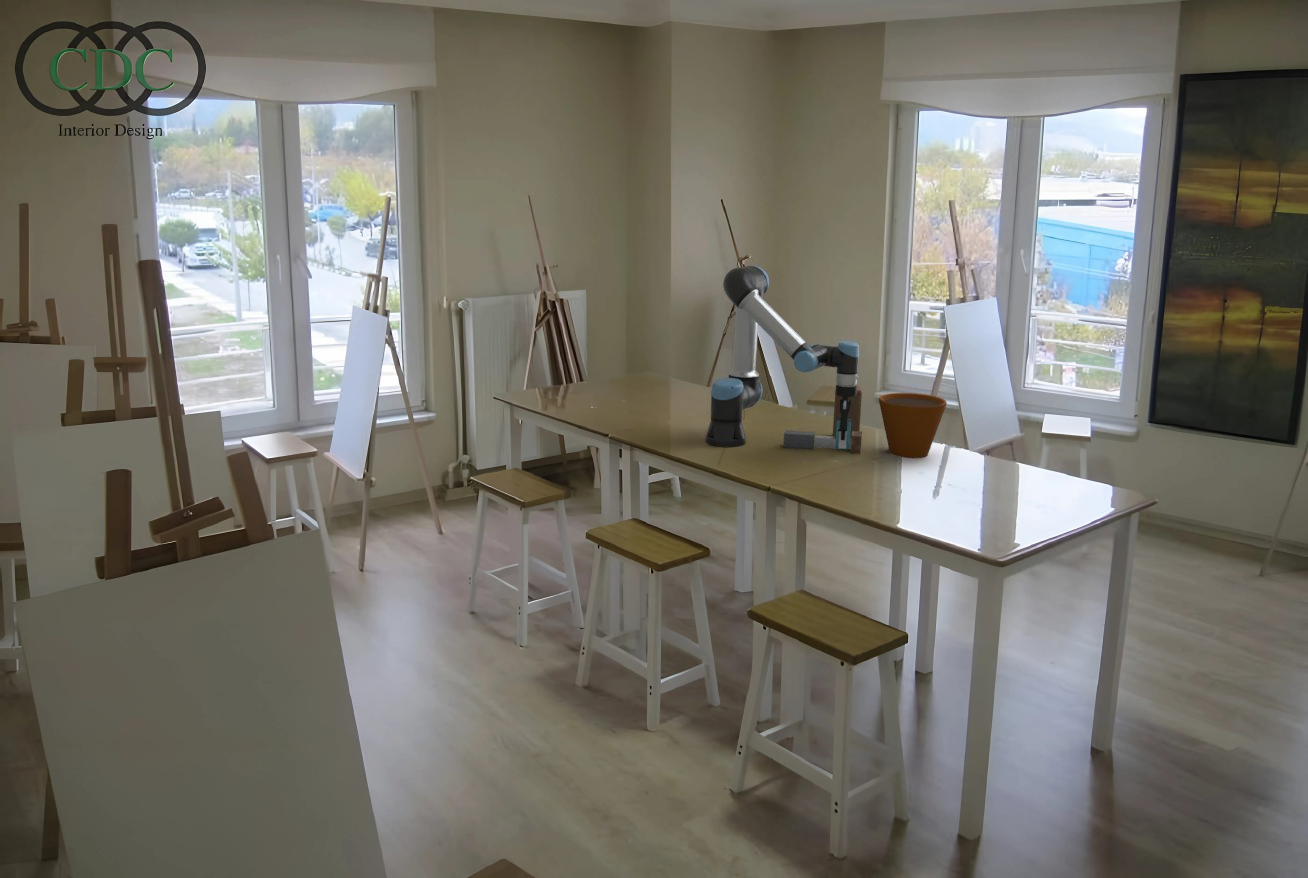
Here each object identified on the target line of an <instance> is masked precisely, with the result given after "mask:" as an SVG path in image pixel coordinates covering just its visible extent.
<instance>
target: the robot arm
mask: <svg viewBox="0 0 1308 878" xmlns="http://www.w3.org/2000/svg"><path fill="white" fill-rule="evenodd" d="M722 287H723V291H724V292H725V295H726V296H727V298H728V299H729V300H730V301H731V302H732V303H733V304H734V305H735V307H736V308H735V327H734V340H733V342H734V343H733V362H732V363H733V364H732V369H731V370H730V371H729V372H728V377H724V378H720V379H717V380H714V381H713V383H712V384H711V390H710V396H711V397H710V422H709V425H708V427H707V431H706V432H705V438H704V439H705V443H706V444H708V445H711V446H714V447H715V446H716V447H725V448H728V447H731V448H732V447H740V446H743V445H745V444H746V442H747V440H746V439H747V437H746V433H745V430H744V427H743V411H744V410H745V409H749V408H752V407H753V406H755V405H756V404H757V403H759V401H760V400H761V398H762V396H763V391H764V390H763V389H764V388H763V385H762V382H760V373H759V372H758V371H757V370H756V366H757V365H756V364H757V348H758V333H759V326H760V328H761V329H762V330H763V331H764V332H765V333H766V334H768V336H769V337H770V338H771V339H772V340H774V342H775V343H776V344H777V345H778V346H779V348H781V349H782V350H783V351H784V352H785V353H786V354H787V355H788V356H789V357H790V358H791V359H792V360H793V364H794V367H795V369H796V371H799V372H801V373H810V372H813V371H814V370H816V369H819V368H822V367H828V368H829V367H830V368H836V376H835V383H836V385H835V390H836V392H835V391H834V395H835V394H836V395H837V396H842V399H840V413H841V419H840V428H839V429H838V431H839V447H838V448H842V449H841V450H847V449H846V441H847V419H848V413H849V411H850V406H851V400H849V399H850V398H849V397H854V396H856V393H857V386H858V385H857V384H858V380H859V378H860V377H859V375H858V373H859V372H858V371H859V359H860V345H859V343H857V342H856V341H845V340H844V341H839V342H838V345H837V346H831V345H825V344H824V345H823V344H818V343H816V344H809V343H807V341H805V340H804V339H803V337H802V336H801V335H800V334H798V333H797V332H796V331H795V330H794V328H792V326H790V324H789V323H787V322H786V321H785V320H784V318H783V317H781V316H780V314H778V312H777V311H776V310H775V309H774V308H773V307H772V306H770V305H769V304H768V303H767V301H766V300H765V294H766V292H767V291H768V290H769V288H770V279H769V275H768V273H767V272H766V271H765V270H764V269H763V268H762V267H759V266H757V265H745V266H742V267H741V266H739V267H734V268H732V269H730V270H729V271H728V272H727V273H726V274H725V276H724V279H723V282H722Z"/></svg>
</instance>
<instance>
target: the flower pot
mask: <svg viewBox="0 0 1308 878" xmlns="http://www.w3.org/2000/svg"><path fill="white" fill-rule="evenodd" d="M878 403H879V407H880V412H881V417H882V422H883V423H882V424H883V426H884V431H885V436H886V437H885V438H886V440H887V441H886V442H887V446H888V451H889V454H891V455H893V456H896V457H900V458H906V459H923V458H927V457H928V456H929V452H930V450H931V447H932V445H933V442H934V439H935V437H936V434H937V432H938V428H939V426H940V423H941V420H942V417H943V416H944V412H945V410H946V406H947V401H946V400H945V399H944V398H942V397H940V396H935V395H930V394H925V393H916V392H915V393H913V392H894V393H887V394H886V393H885V394H882V395H880V396H879V398H878Z"/></svg>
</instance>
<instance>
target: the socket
mask: <svg viewBox="0 0 1308 878" xmlns="http://www.w3.org/2000/svg"><path fill="white" fill-rule="evenodd" d="M862 436H863V431H861V430H860V431H852V440H851V449H850V454H853V455H854V454H855V455H861V451H862V438H863V437H862Z"/></svg>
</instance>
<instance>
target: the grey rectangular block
mask: <svg viewBox="0 0 1308 878" xmlns="http://www.w3.org/2000/svg"><path fill="white" fill-rule="evenodd" d="M815 435H816V432H815V431H807V430H806V431H805V430H804V431H803V430H791V429H790V430H789V429H785V430H784V433H783V445H782V446H783V449H790V450H791V449H796V450H805V451H806V450H809V451H813V450H814V449H815V447H814V436H815Z"/></svg>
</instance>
